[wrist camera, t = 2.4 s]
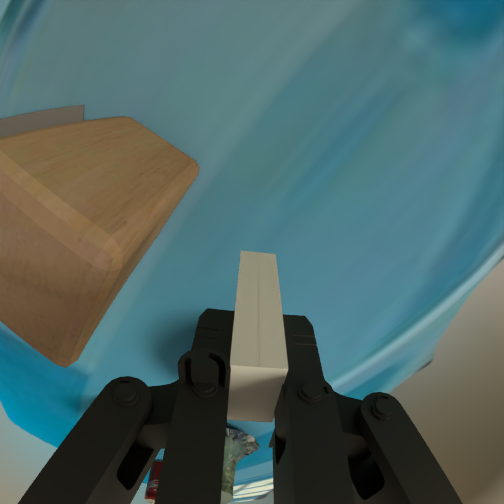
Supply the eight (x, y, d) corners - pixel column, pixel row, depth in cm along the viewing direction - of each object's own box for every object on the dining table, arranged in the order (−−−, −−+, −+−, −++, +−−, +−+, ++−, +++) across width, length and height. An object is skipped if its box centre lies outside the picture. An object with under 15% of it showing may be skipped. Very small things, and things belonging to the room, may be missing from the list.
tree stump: (143, 429, 52) (131, 496, 34) (204, 380, 50) (205, 458, 33) (209, 464, 56) (213, 526, 39) (273, 423, 55) (291, 491, 37)
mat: (-7, 121, 25) (-8, 121, 24) (84, 104, 25) (82, 105, 25) (4, 232, 32) (3, 233, 31) (89, 242, 32) (88, 243, 32)
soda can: (153, 456, 57) (145, 496, 46) (182, 464, 58) (176, 504, 47) (151, 464, 60) (143, 502, 49) (177, 472, 61) (171, 509, 50)
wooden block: (155, 239, 32) (67, 379, 14) (85, 190, 29) (-45, 283, 11) (205, 164, 28) (122, 261, 10) (126, 112, 26) (-32, 138, 8)
